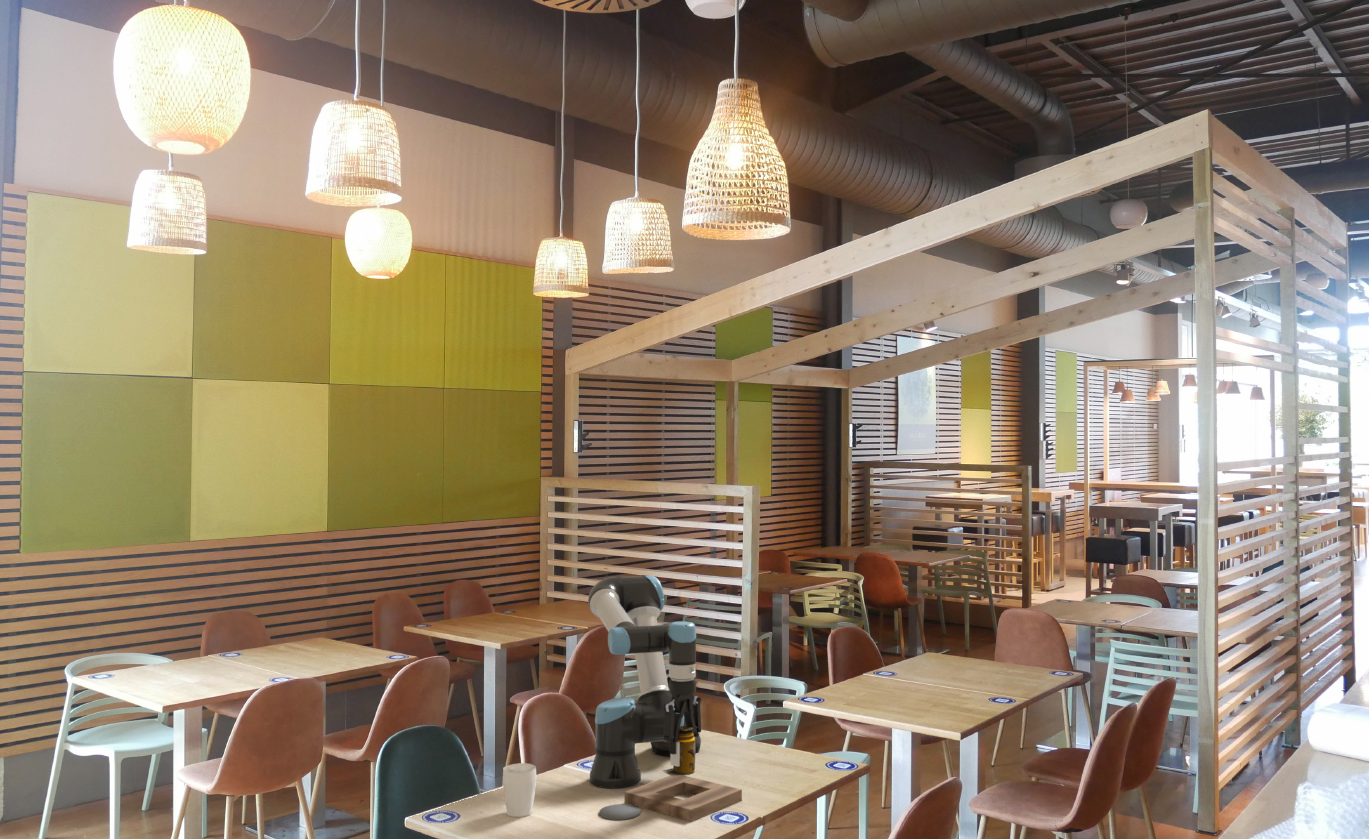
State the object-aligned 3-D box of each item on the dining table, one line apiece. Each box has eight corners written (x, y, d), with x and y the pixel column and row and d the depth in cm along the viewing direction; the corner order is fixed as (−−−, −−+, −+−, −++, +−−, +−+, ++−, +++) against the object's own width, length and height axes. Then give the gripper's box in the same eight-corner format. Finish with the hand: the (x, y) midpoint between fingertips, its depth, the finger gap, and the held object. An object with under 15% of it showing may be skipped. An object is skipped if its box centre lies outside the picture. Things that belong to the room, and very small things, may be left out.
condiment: (701, 772, 283) (701, 728, 283) (675, 778, 278) (675, 733, 278) (686, 766, 289) (686, 723, 289) (661, 771, 284) (661, 727, 284)
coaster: (590, 814, 273) (590, 811, 273) (619, 803, 282) (619, 801, 282) (620, 822, 266) (620, 820, 266) (649, 812, 275) (649, 809, 275)
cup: (521, 805, 281) (521, 761, 281) (543, 812, 275) (543, 766, 276) (495, 814, 274) (495, 768, 275) (518, 821, 268) (518, 774, 269)
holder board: (624, 802, 283) (624, 791, 283) (676, 783, 299) (676, 773, 300) (691, 821, 267) (691, 809, 267) (741, 800, 284) (741, 789, 284)
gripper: (670, 685, 275) (670, 773, 274) (714, 674, 290) (714, 757, 289) (649, 682, 280) (649, 767, 279) (693, 671, 295) (694, 752, 294)
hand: (682, 762), depth 284 cm, fingers closed on condiment, 6 cm apart
